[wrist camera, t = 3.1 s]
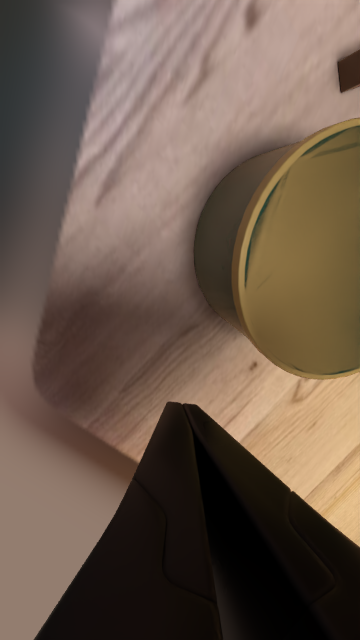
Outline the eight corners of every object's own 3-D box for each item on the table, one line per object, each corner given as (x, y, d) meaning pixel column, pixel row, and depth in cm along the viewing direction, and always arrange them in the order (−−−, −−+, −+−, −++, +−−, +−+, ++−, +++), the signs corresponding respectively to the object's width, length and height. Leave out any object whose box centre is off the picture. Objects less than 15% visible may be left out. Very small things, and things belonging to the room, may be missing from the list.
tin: (188, 341, 22) (229, 394, 16) (193, 139, 18) (250, 100, 12) (337, 327, 25) (422, 366, 19) (369, 153, 21) (491, 128, 15)
